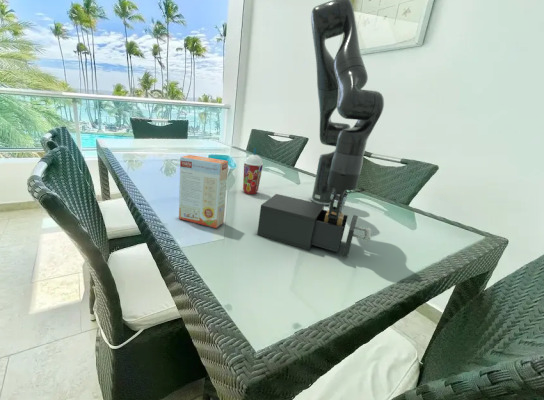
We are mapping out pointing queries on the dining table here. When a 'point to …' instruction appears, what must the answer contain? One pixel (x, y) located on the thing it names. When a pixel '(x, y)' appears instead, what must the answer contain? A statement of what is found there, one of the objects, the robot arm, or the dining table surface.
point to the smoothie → (252, 173)
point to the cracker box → (202, 190)
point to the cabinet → (289, 220)
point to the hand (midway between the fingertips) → (332, 227)
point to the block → (339, 221)
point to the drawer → (336, 233)
